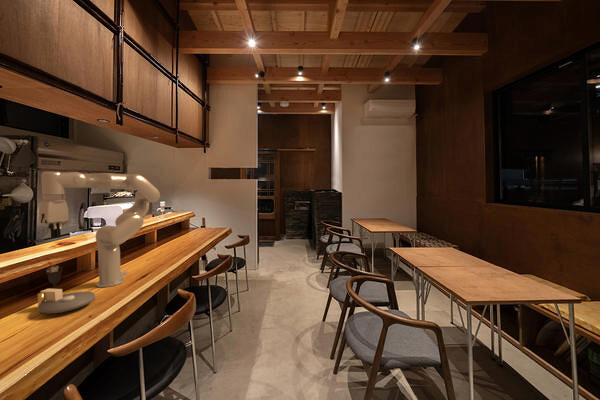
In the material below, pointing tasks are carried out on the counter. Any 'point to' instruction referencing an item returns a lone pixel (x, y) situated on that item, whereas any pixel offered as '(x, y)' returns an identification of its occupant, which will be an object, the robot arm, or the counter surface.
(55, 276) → the sundae
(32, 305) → the counter surface
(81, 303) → the disc
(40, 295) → the brown rounded oblong piece
